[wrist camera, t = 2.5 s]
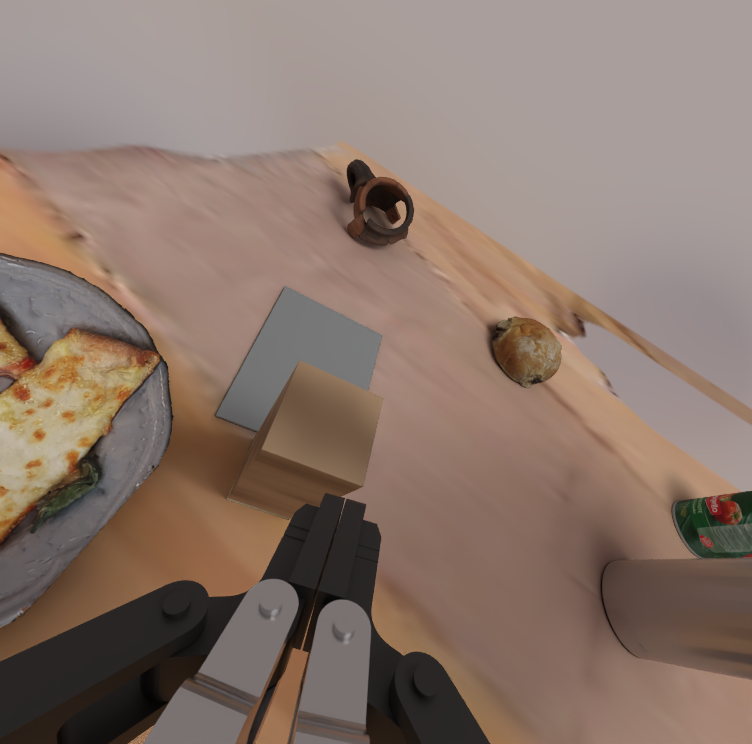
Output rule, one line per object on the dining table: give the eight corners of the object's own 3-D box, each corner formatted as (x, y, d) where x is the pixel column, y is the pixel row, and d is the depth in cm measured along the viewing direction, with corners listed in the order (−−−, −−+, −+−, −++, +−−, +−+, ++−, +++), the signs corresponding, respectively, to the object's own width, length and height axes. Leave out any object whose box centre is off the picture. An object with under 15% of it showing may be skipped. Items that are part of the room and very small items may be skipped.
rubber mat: (284, 287, 37) (285, 285, 37) (381, 336, 40) (382, 335, 40) (215, 416, 28) (215, 415, 28) (346, 466, 31) (348, 465, 31)
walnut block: (253, 439, 29) (299, 360, 18) (308, 459, 30) (383, 398, 19) (226, 499, 26) (261, 449, 15) (288, 519, 27) (363, 486, 16)
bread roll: (484, 391, 50) (536, 392, 43) (477, 320, 50) (528, 310, 43) (525, 381, 55) (576, 382, 49) (519, 317, 55) (570, 309, 48)
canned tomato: (712, 570, 49) (824, 571, 41) (673, 537, 49) (779, 531, 40) (704, 520, 54) (803, 511, 46) (669, 490, 54) (762, 475, 45)
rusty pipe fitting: (408, 237, 53) (433, 216, 45) (362, 272, 51) (380, 256, 43) (362, 166, 51) (380, 131, 43) (311, 199, 49) (320, 169, 41)
